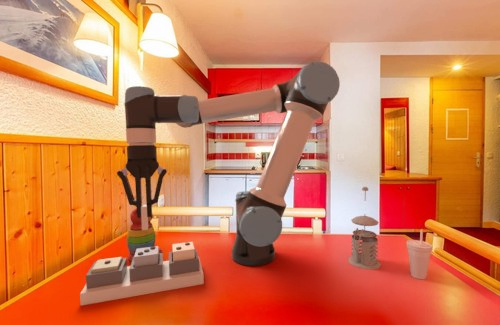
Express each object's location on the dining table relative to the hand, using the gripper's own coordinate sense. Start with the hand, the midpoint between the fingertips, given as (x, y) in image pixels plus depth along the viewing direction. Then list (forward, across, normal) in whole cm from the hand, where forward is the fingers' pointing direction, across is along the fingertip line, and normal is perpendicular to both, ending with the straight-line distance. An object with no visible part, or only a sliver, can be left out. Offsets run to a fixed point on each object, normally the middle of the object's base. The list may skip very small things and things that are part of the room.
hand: (145, 228), depth 72 cm
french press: (+16, -66, +11) cm, 69 cm away
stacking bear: (+16, +3, -20) cm, 25 cm away
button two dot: (+11, -10, 0) cm, 15 cm away
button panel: (+16, 0, 0) cm, 16 cm away
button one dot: (+12, +10, 0) cm, 16 cm away
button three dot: (+11, 0, 0) cm, 11 cm away
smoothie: (+16, -75, +23) cm, 80 cm away
